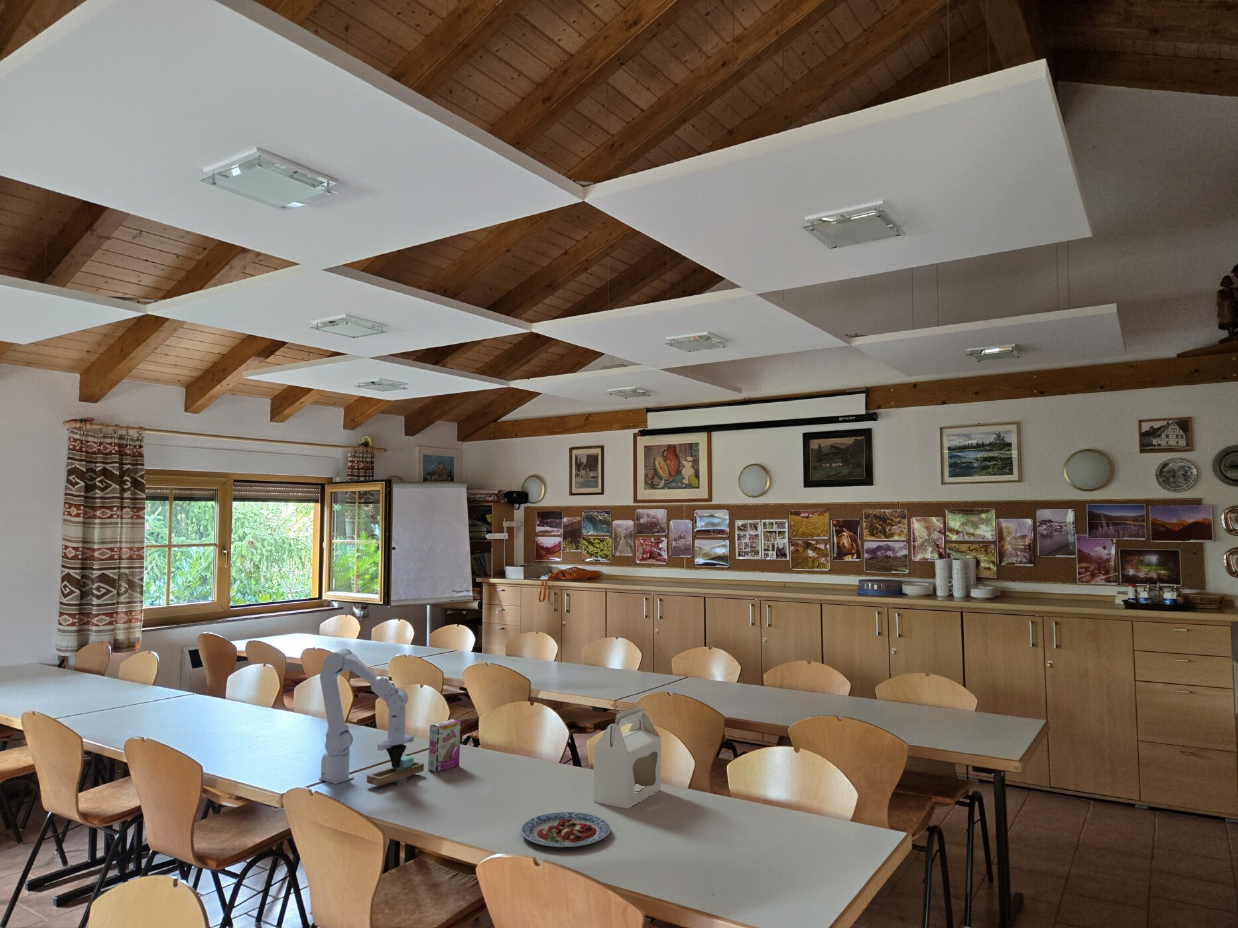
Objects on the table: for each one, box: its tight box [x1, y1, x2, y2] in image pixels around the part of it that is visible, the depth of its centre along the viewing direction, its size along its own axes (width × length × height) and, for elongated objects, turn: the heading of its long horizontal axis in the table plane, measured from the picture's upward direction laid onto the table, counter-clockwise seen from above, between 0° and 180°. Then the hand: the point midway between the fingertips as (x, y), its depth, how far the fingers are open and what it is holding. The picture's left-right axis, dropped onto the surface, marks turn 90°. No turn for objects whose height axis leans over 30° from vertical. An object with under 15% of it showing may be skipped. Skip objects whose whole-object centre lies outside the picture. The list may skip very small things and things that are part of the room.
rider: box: [396, 754, 414, 772], centre depth 281 cm, size 5×4×5 cm
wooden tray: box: [366, 760, 425, 787], centre depth 278 cm, size 7×20×4 cm, turn 147°
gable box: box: [592, 704, 662, 810], centre depth 266 cm, size 22×13×28 cm, turn 149°
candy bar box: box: [427, 718, 462, 774], centre depth 293 cm, size 11×5×16 cm, turn 144°
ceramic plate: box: [520, 811, 611, 848], centre depth 232 cm, size 26×26×3 cm
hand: (395, 767), depth 278 cm, fingers closed
